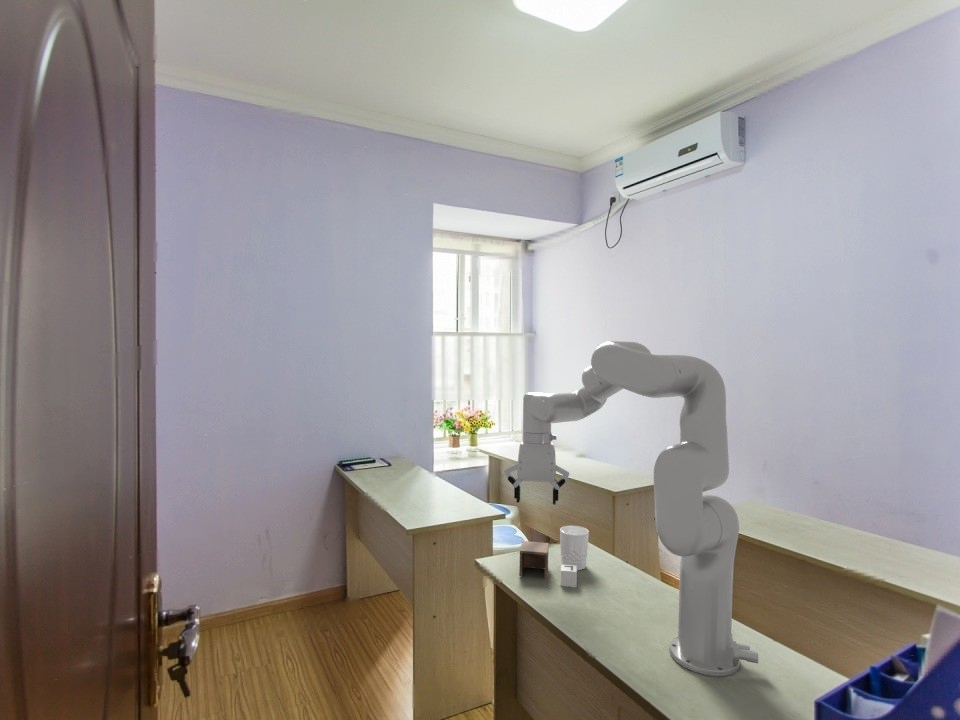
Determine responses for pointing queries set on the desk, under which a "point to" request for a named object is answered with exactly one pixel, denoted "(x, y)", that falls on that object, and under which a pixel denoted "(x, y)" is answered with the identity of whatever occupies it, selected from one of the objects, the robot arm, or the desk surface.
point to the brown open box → (534, 556)
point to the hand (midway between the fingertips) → (536, 502)
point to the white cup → (574, 546)
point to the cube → (568, 575)
